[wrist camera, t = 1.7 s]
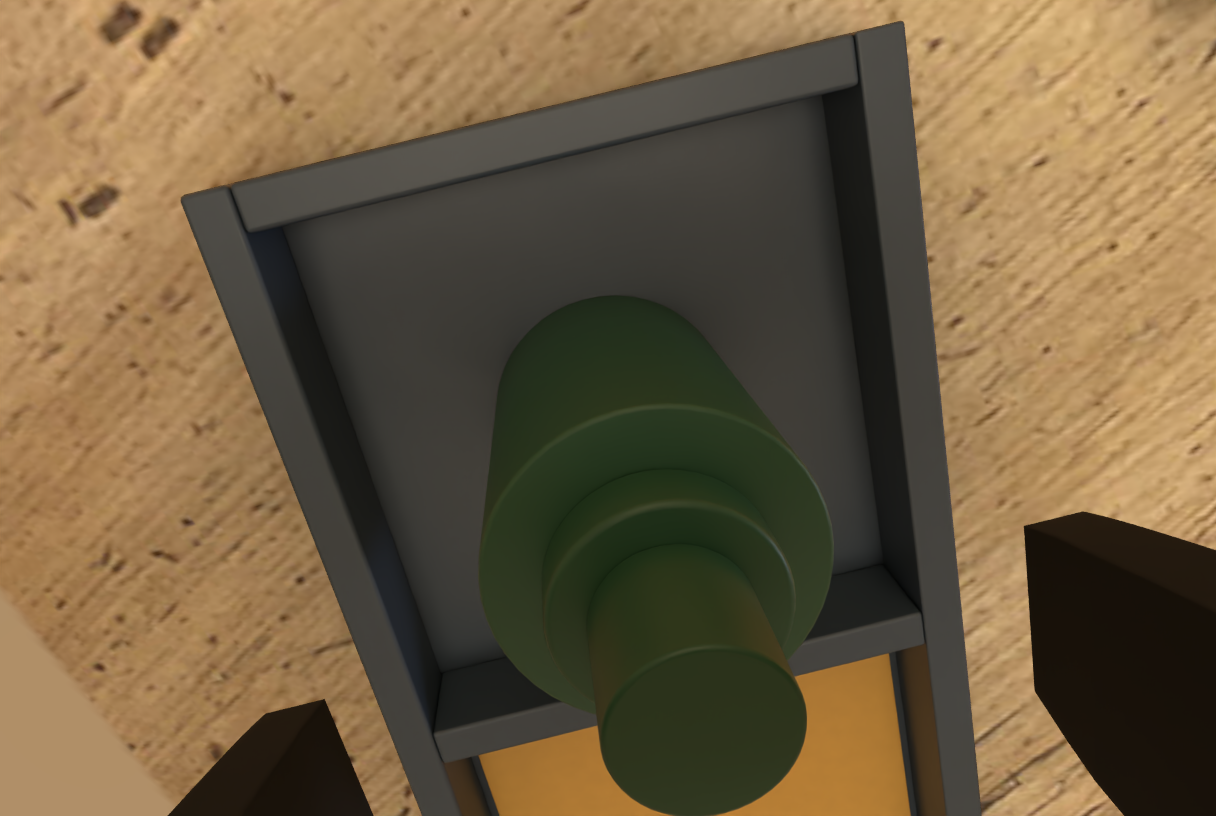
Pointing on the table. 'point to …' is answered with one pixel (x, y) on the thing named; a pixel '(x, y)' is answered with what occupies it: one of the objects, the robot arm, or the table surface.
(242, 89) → the table surface
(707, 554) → the bottle
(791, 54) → the tray
